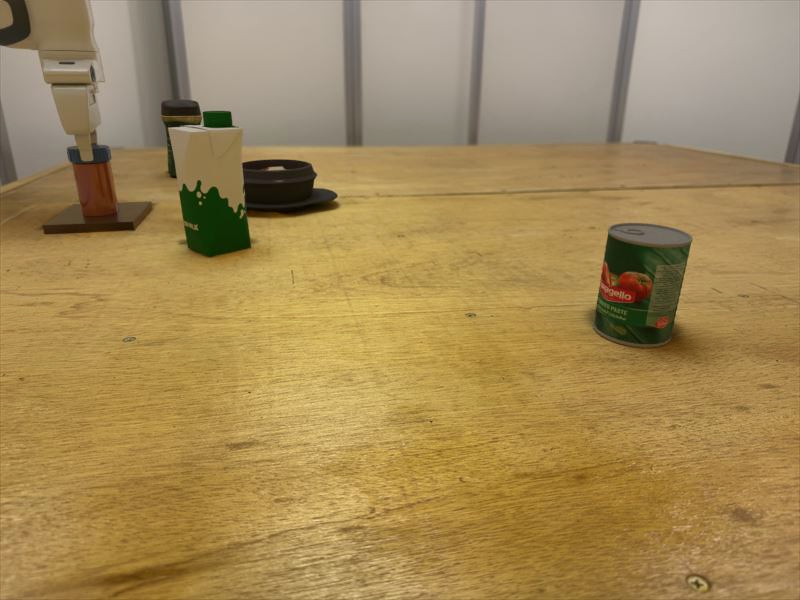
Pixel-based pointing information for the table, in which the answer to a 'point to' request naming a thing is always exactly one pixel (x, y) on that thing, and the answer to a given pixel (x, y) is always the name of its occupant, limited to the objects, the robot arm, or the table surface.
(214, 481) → the table surface
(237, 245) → the milk carton
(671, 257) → the canned tomato
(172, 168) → the coffee jar
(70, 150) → the lid
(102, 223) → the board
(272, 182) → the casserole
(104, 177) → the honey jar
